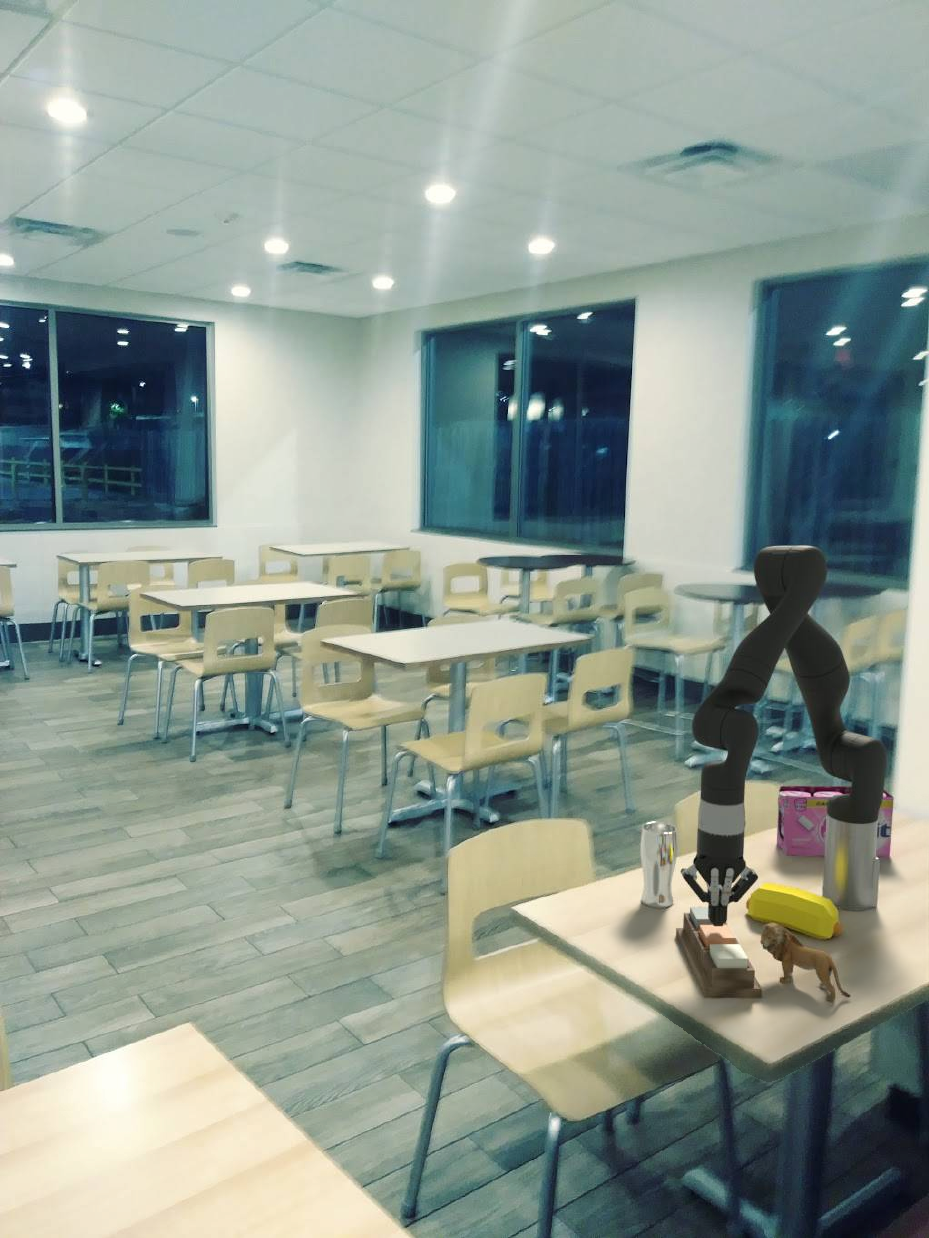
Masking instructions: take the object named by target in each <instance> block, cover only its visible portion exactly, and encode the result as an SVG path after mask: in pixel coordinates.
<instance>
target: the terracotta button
mask: <svg viewBox="0 0 929 1238" xmlns="http://www.w3.org/2000/svg"><path fill="white" fill-rule="evenodd" d="M734 934H735V933H733V931H732V930H731V928H730V926H729V924H728V925H723V926H714V925H700V930H699V937H700V939H701V941H702V943H703V945H704V946H705V947H710V944H735V941H736V939H737V937H736V936H735V935H734Z"/></svg>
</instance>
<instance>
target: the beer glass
mask: <svg viewBox="0 0 929 1238" xmlns="http://www.w3.org/2000/svg"><path fill="white" fill-rule="evenodd" d="M677 831H678V829H677V826H675V825H674V824H672V823H669V822H664V821H649V822H645V823H643V824H642V826H641V834H640V835H641V836H640V837H641V838H640V860H641V868H642V875H643V889H642V894H641V902H642V903H643V904H644V905H646V906H648V907H651V908H655V909H656V908H657V909H662V908H663V909H664V908H668V907H671V906H672V905H673V904H674V897H673V890H672V888H673V884H672V883H673V876H674V872H675V869H676V865H677V857H678V834H677V833H678V832H677Z"/></svg>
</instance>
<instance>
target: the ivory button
mask: <svg viewBox="0 0 929 1238" xmlns="http://www.w3.org/2000/svg"><path fill="white" fill-rule="evenodd" d="M710 958H711V960H712V962H713V964H714V966H715V968H748V960H749V958H748V956H747V955H746V953H745V951H744V949H743V948H742V946H741V944H740V943H739V944H710Z"/></svg>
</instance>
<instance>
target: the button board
mask: <svg viewBox="0 0 929 1238" xmlns="http://www.w3.org/2000/svg"><path fill="white" fill-rule="evenodd" d="M682 921H683V922H682V923H683V927H676V928H675V937H676V939H677V941H678V943H679V945H680V947H681V949H682V952H683V954H684V957H685V958H686V961H687V962H688V965H689V967H690V969H691V971H692V973H693V975H694V977H695V980H696V981H697V982H696V983H697V984H698V986H699V989H700V991H701V993H702V994H703V998H705V999H709V998H710V999H712V998H713V999H714V998H715V999H716V998H719V999H722V998H723V999H724V998H725V999H727V998H731V999H734V998H735V999H736V998H741V999H742V998H746V999H748V998H749V999H752V998H762V997H763V995H762V994H763V988H762V987H761V984H760V982H759V981H758V979H757V977H756V976H755V974H756V973H755V972H756V970H755V968H754V967H753V965H752V963H751V961H750V959H748V968H715V966H714V964H713V962H712V960H711V958H710V947H705V946H704V945H703V943H702V941H701V939H700V937H699V930H700V928H695V927H694V925H693V923H692V921H691V919H690V912H683V919H682ZM724 925H728V926H729V924H728V923H727V922H726V923H724ZM735 944H740V943H739V941H738V939H737V938H736V941H735Z"/></svg>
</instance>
